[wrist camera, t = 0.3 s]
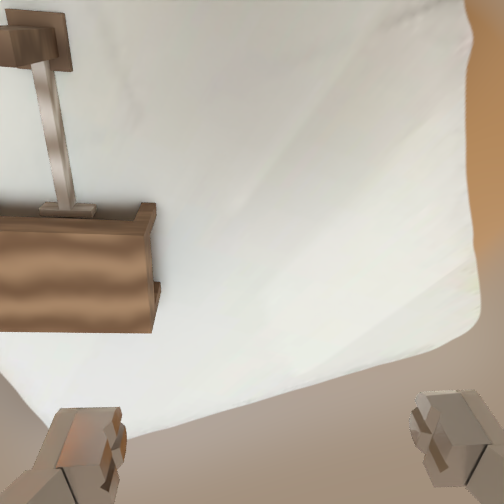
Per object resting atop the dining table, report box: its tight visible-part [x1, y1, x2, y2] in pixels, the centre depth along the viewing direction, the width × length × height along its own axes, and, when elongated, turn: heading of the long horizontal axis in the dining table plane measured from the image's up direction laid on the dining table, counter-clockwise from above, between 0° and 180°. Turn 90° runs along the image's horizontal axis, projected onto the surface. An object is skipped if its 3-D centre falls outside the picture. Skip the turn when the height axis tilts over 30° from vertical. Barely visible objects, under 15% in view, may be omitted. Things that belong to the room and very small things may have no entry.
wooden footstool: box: [0, 203, 161, 333], centre depth 56 cm, size 16×24×10 cm, turn 86°
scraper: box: [0, 9, 97, 218], centre depth 46 cm, size 24×7×12 cm, turn 176°
